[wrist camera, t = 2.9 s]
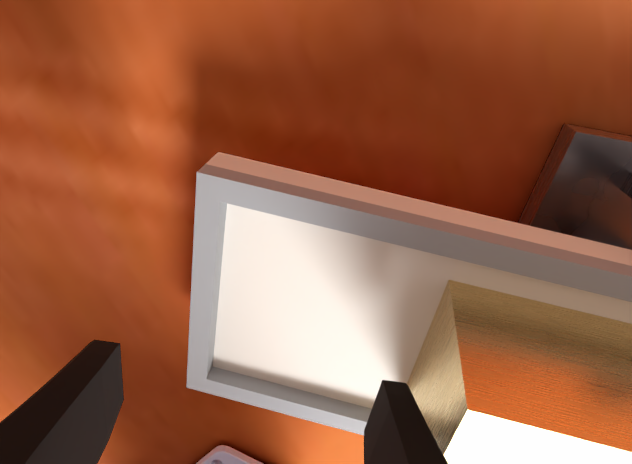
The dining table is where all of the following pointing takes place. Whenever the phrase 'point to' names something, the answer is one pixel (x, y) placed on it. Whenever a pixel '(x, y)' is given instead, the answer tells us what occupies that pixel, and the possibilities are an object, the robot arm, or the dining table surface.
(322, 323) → the beam
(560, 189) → the beam stand
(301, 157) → the dining table surface
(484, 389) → the brass bar
